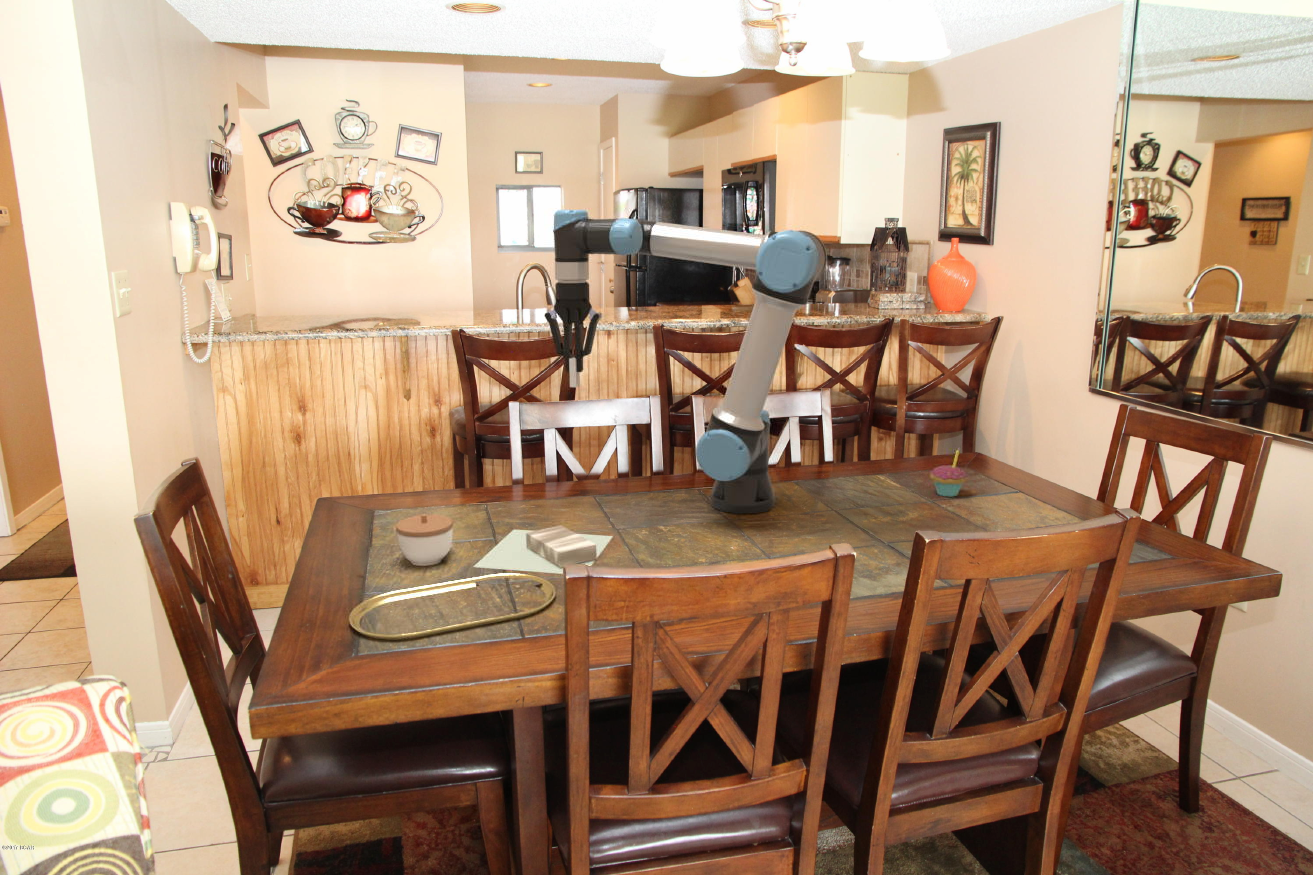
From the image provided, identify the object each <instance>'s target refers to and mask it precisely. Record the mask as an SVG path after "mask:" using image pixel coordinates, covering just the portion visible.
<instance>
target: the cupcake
mask: <svg viewBox="0 0 1313 875" xmlns="http://www.w3.org/2000/svg"><path fill="white" fill-rule="evenodd" d="M959 455H960V447H958V449H957V450H956V451H955V455H954V459H953V464H952V465H948V464H946V465H945V464H944V465H938V466H936V467H934V468H933V469H931V471H930V474H929V477H930V480H931V481H932V482H933V483H934V485H935V489H936V493H937V495H938V496H942V497H947V498H948V497H949V498H950V497H951V498H952V497H957V496H958V495H959V492H960V490H961V487H962V486H963V484H966V482H967V478H968V474H967V472H965V470H963V469H962V468H960V467H959V466H957V461H958V458H959Z"/></svg>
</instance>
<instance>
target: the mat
mask: <svg viewBox="0 0 1313 875" xmlns="http://www.w3.org/2000/svg"><path fill="white" fill-rule="evenodd" d="M532 531H533V530H527V529H526V530H525V529H513V530H511V531H510V532H509V533H508V534H507V535H506V536H505V537H504V538H503V539H501V541H499V543H497V544H496V545H495V546H494V547H493V548H492V549H491V550H490V551H489V552H488V553H487V554H485V555H484V556H483V557H482V558H481V559H480V560H479V561H478V562H476V563H475V565H473V568H479V569H480V568H481V569H491V570H492V569H494V570H506V571H517V572H519V571H521V572H532V573H534V572H535V573H544V574H545V573H547V574H557V575H558V574H559V575H564V574H563V567H562V568H560V567H558V566H557V565H555V564H554V563H552V562H550V561H549V560H547V559H545V558H544V557H542V556H540V555H539V554H537V553H536V552H534V551H532V550H531V549H529V548H527V546H526V533H528V532H532ZM577 534H578V535H580V536H582V537H583V538H585V539H587V540H589V541H591V542H593V543H595V544H596V555H597V558H598V557H599V556H600V555H601V554H602V552H603V551H604V549H605V548H606V547H607V545H609V543H610V541H611V540H612V539H613V538H614V536H613V535H604V534H603V535H601V534H599V535H597V534H589V533H588V534H587V533H585V534H584V533H577ZM596 560H597V559H594V560H590V561H586V562H582V563H578V564H585V565H588V566H591V567H592V565H593V564H594V563H595V561H596Z"/></svg>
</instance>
